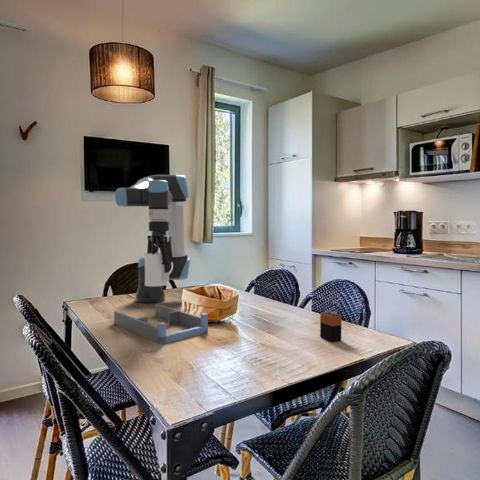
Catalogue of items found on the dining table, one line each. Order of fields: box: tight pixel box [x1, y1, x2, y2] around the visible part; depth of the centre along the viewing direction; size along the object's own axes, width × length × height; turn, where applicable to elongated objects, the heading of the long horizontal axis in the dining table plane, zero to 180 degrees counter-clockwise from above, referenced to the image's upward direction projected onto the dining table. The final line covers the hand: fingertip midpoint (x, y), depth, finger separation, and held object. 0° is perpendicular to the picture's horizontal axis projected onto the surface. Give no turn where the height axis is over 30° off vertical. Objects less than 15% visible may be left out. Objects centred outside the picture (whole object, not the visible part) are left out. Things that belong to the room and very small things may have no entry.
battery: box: [319, 309, 342, 343], centre depth 139 cm, size 4×7×10 cm, turn 27°
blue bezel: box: [157, 312, 209, 345], centre depth 142 cm, size 20×2×7 cm, turn 133°
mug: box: [144, 252, 173, 287], centre depth 151 cm, size 12×8×12 cm
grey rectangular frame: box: [113, 303, 201, 344], centre depth 155 cm, size 20×34×5 cm, turn 43°
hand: (159, 279), depth 152 cm, fingers closed on mug, 8 cm apart
